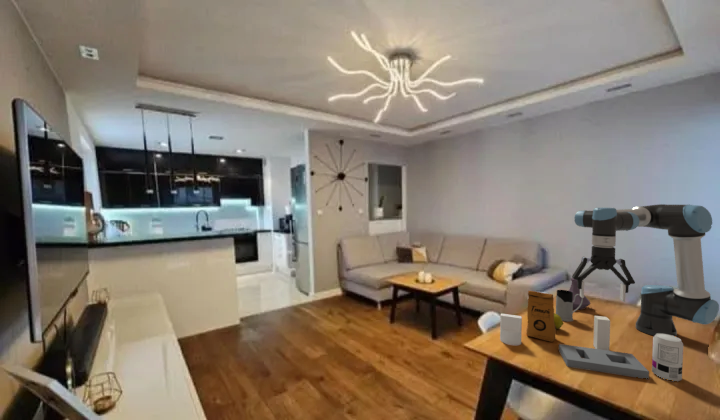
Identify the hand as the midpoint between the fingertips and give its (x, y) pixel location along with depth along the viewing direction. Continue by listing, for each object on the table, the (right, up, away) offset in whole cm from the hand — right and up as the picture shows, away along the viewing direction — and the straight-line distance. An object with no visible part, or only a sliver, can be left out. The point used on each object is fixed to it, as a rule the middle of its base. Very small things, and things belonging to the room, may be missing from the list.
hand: (601, 298), depth 127 cm
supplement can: (+18, -27, -8) cm, 34 cm away
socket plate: (0, -27, +1) cm, 27 cm away
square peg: (+10, -26, +13) cm, 31 cm away
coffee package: (-10, -26, +25) cm, 38 cm away
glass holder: (+19, -25, +49) cm, 58 cm away
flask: (+34, -24, +66) cm, 78 cm away
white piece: (-26, -26, +22) cm, 43 cm away
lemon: (+1, -25, +36) cm, 44 cm away
